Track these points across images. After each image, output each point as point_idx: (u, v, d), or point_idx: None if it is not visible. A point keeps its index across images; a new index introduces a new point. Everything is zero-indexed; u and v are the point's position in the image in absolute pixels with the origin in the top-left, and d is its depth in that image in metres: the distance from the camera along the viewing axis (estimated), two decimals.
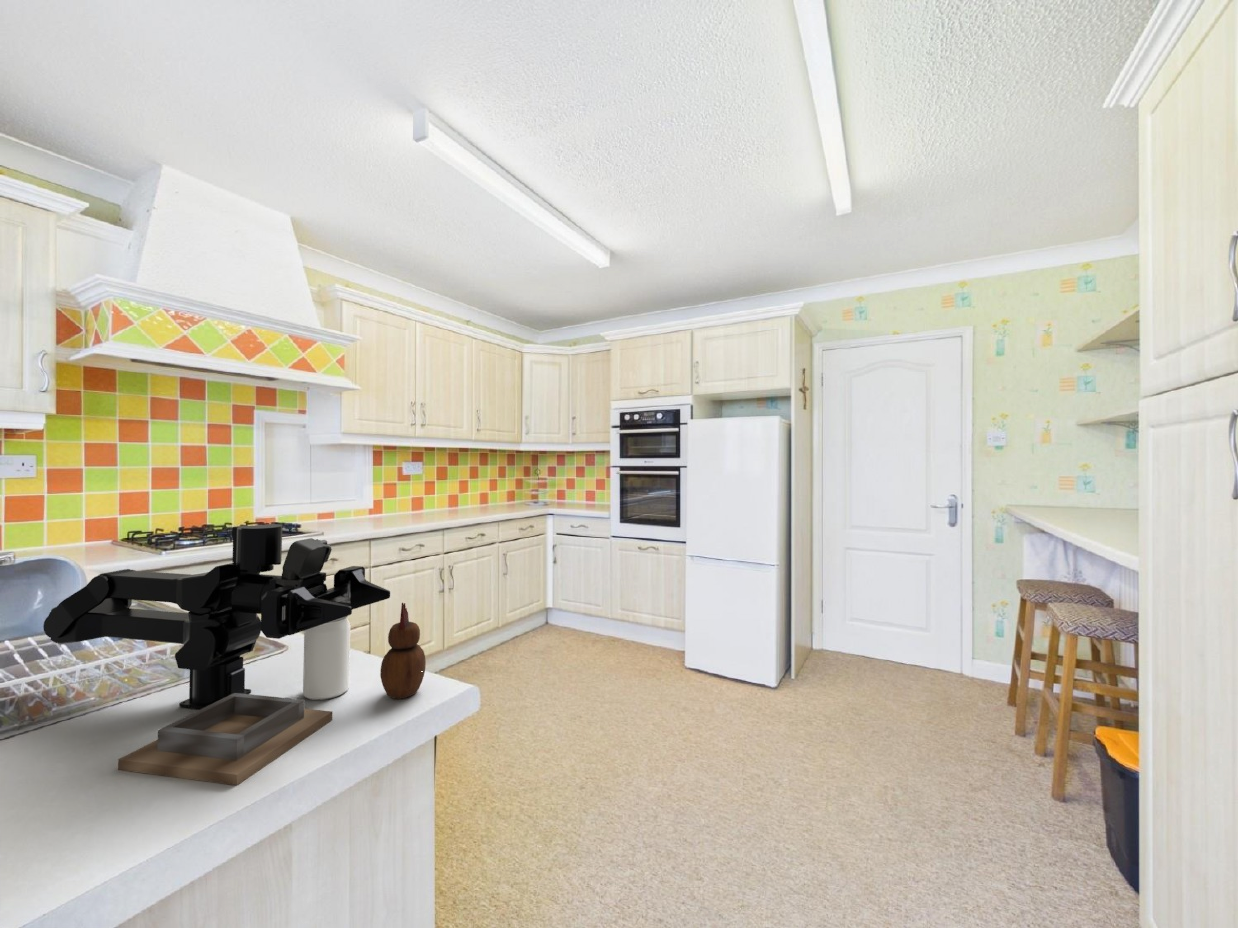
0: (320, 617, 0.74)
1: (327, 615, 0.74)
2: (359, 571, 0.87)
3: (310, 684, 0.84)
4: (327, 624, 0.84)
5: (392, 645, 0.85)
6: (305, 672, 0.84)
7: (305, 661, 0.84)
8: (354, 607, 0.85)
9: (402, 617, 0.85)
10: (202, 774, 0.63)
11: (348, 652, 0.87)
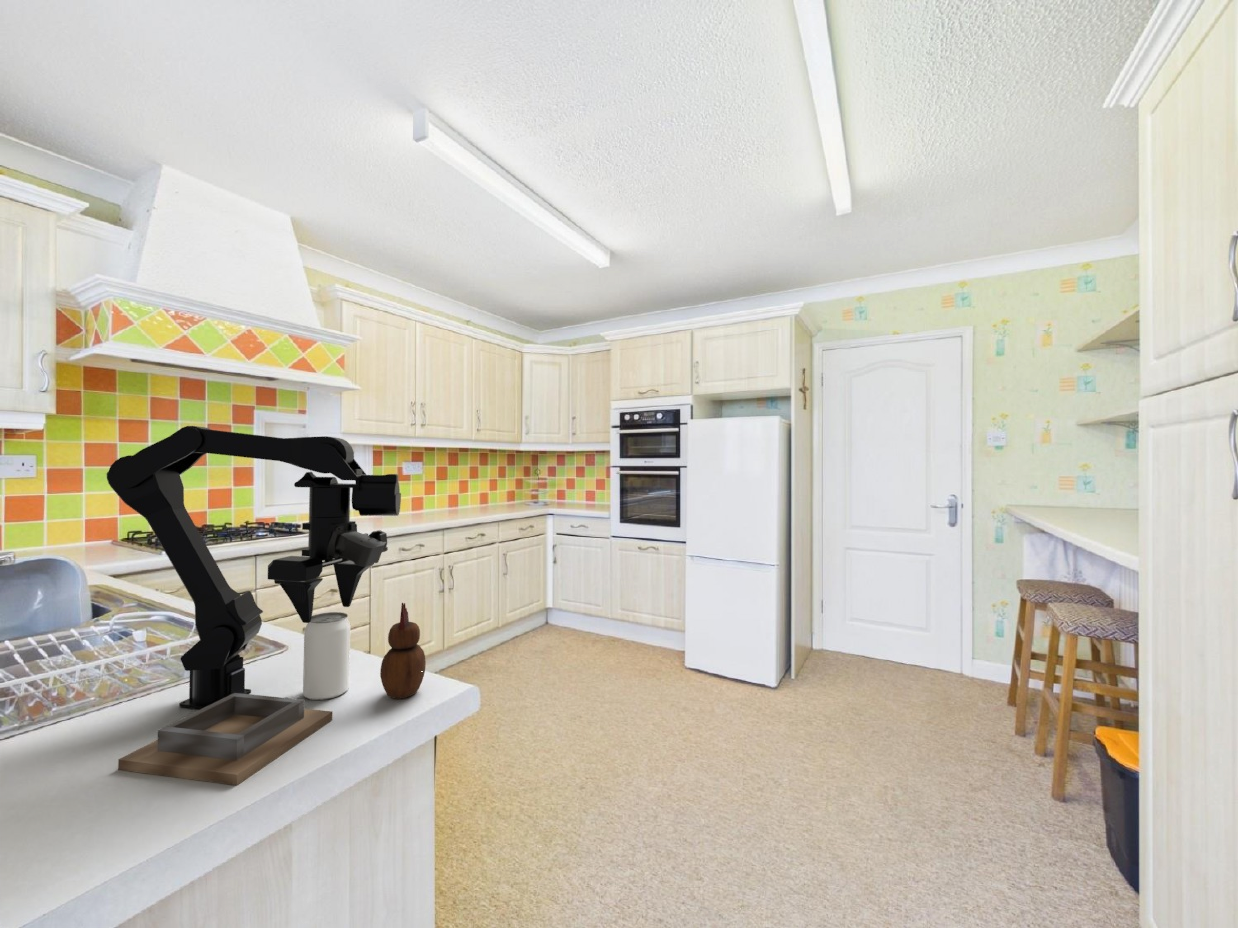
0: (296, 599, 0.81)
1: (298, 605, 0.81)
2: (369, 566, 0.93)
3: (310, 684, 0.84)
4: (327, 624, 0.84)
5: (392, 645, 0.85)
6: (305, 672, 0.84)
7: (305, 661, 0.84)
8: (335, 568, 0.92)
9: (402, 617, 0.85)
10: (202, 774, 0.63)
11: (348, 652, 0.87)
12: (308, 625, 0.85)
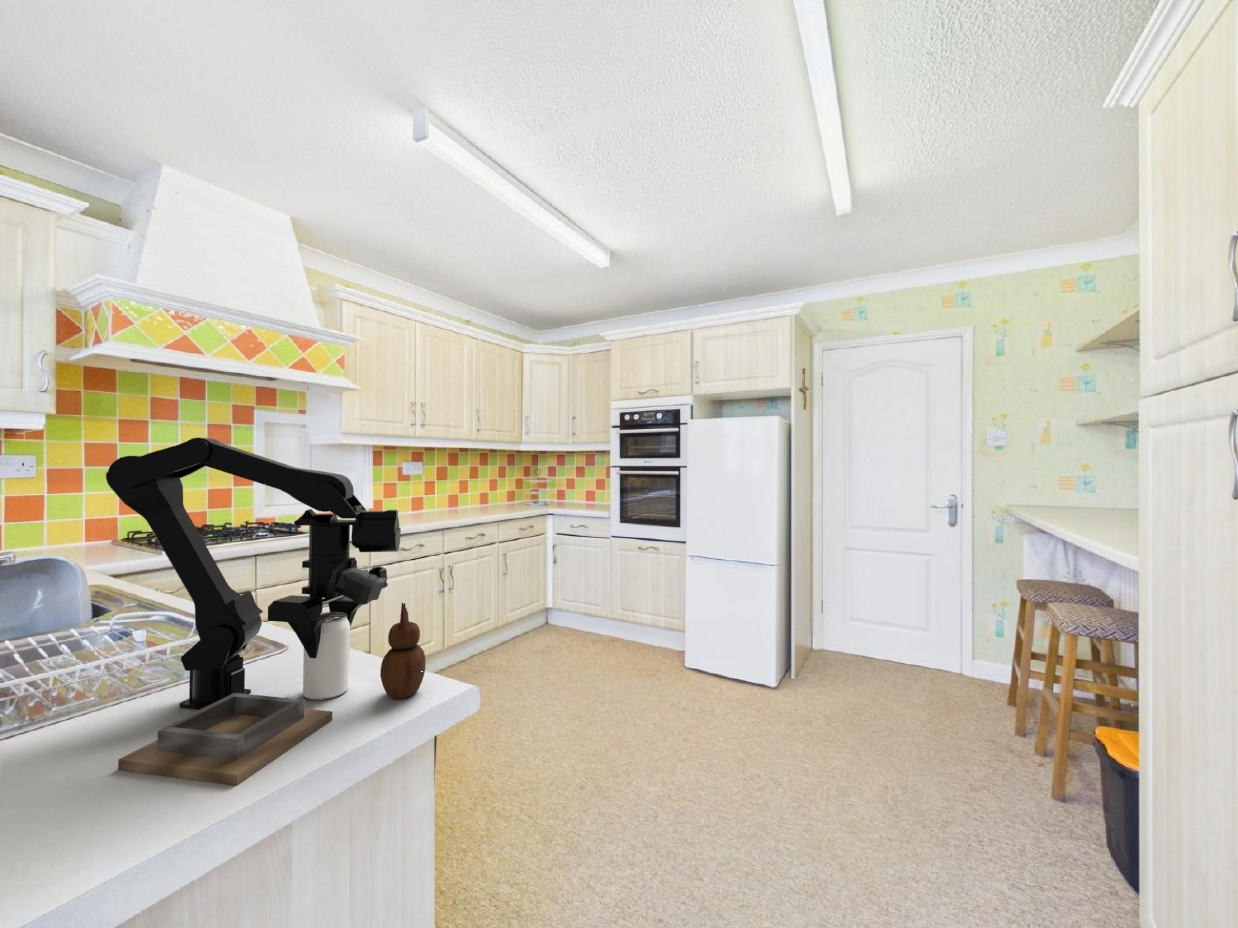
0: (303, 636, 0.83)
1: (305, 641, 0.83)
2: None
3: (310, 684, 0.84)
4: (327, 624, 0.84)
5: (392, 645, 0.85)
6: (305, 672, 0.84)
7: (305, 661, 0.84)
8: (329, 605, 0.91)
9: (402, 617, 0.85)
10: (202, 774, 0.63)
11: (348, 652, 0.87)
12: None
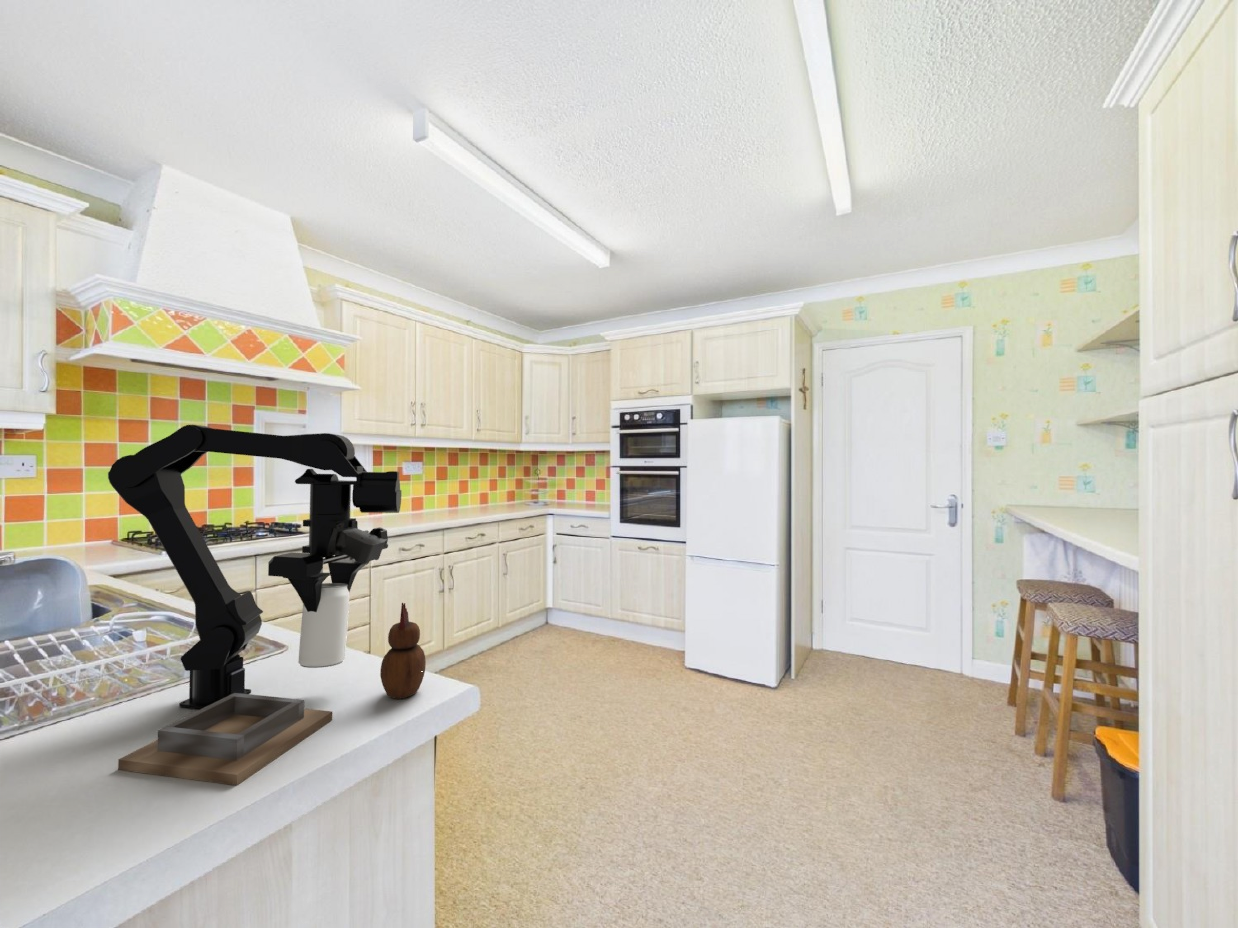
0: (303, 594, 0.83)
1: (306, 599, 0.83)
2: (364, 564, 0.91)
3: (305, 651, 0.83)
4: (326, 589, 0.84)
5: (392, 645, 0.85)
6: (302, 638, 0.83)
7: (302, 627, 0.84)
8: (329, 567, 0.91)
9: (402, 617, 0.85)
10: (202, 774, 0.63)
11: (346, 622, 0.86)
12: None
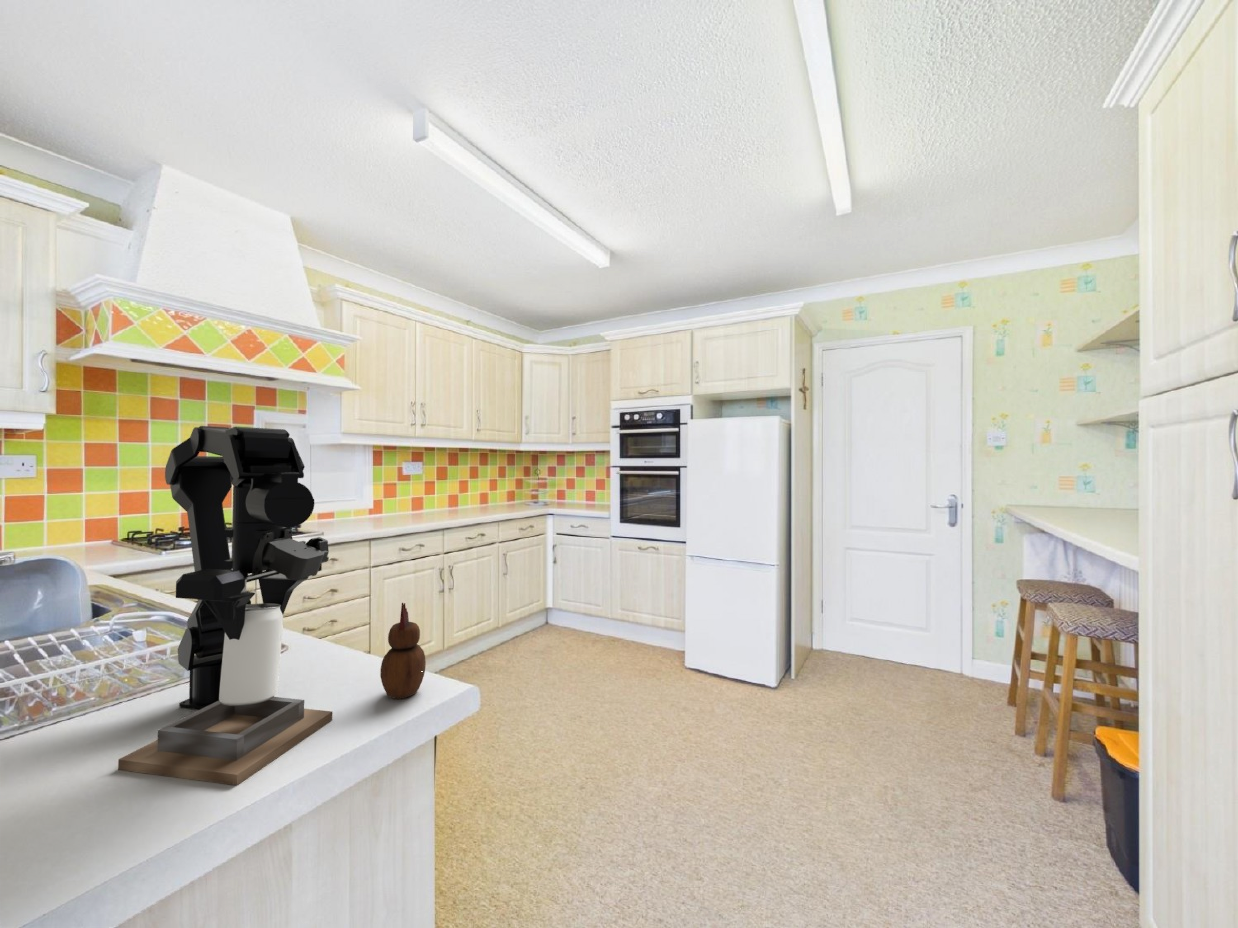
0: (223, 617, 0.69)
1: (226, 624, 0.70)
2: (302, 580, 0.78)
3: (227, 686, 0.70)
4: (253, 612, 0.71)
5: (392, 645, 0.85)
6: (222, 671, 0.70)
7: (223, 658, 0.71)
8: (260, 584, 0.78)
9: (402, 617, 0.85)
10: (202, 774, 0.63)
11: (278, 649, 0.73)
12: None
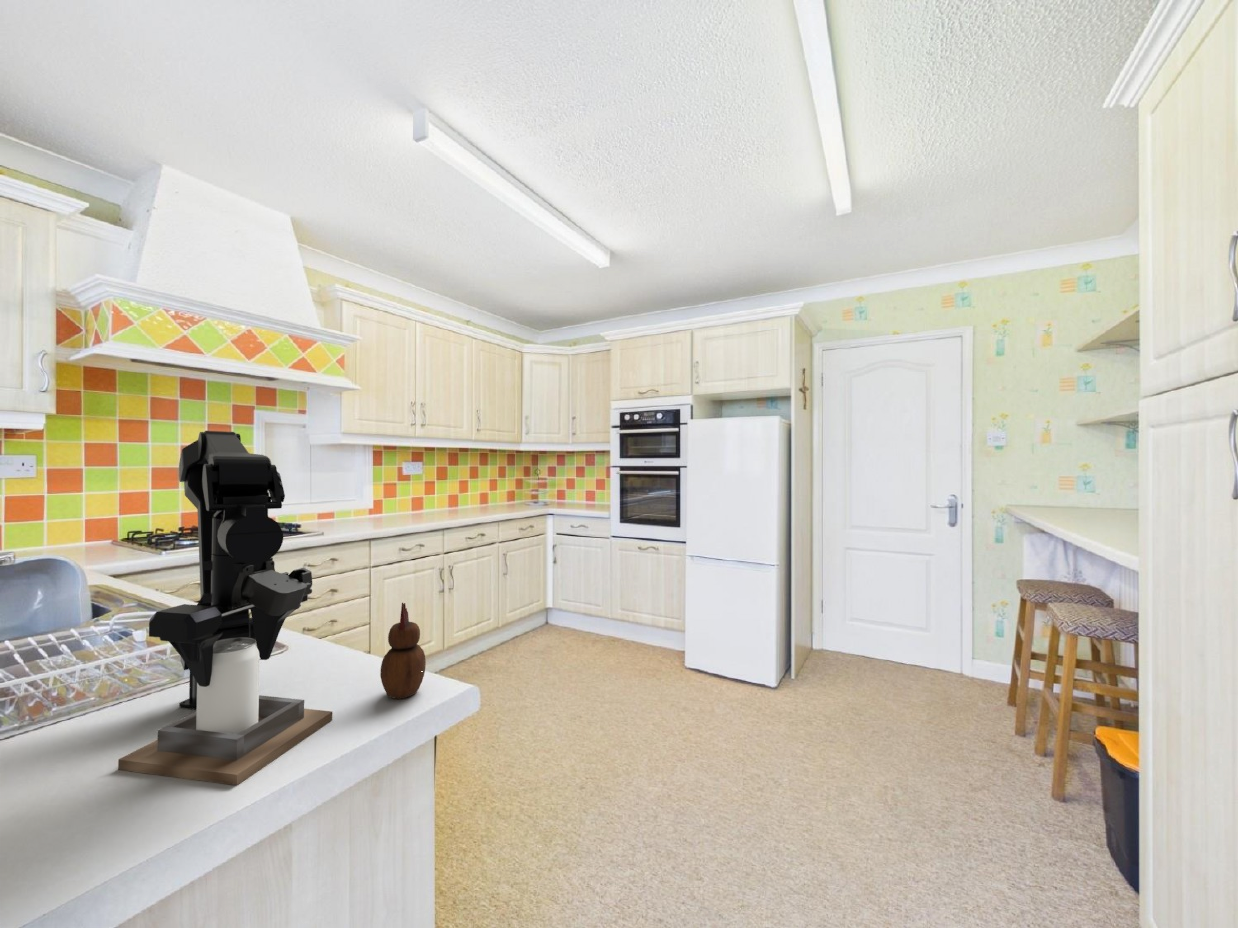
0: (189, 659, 0.65)
1: (193, 665, 0.66)
2: (294, 609, 0.77)
3: (202, 730, 0.67)
4: (224, 654, 0.67)
5: (392, 645, 0.85)
6: (197, 714, 0.67)
7: (197, 700, 0.67)
8: (252, 613, 0.76)
9: (402, 617, 0.85)
10: (202, 774, 0.63)
11: (255, 688, 0.70)
12: None
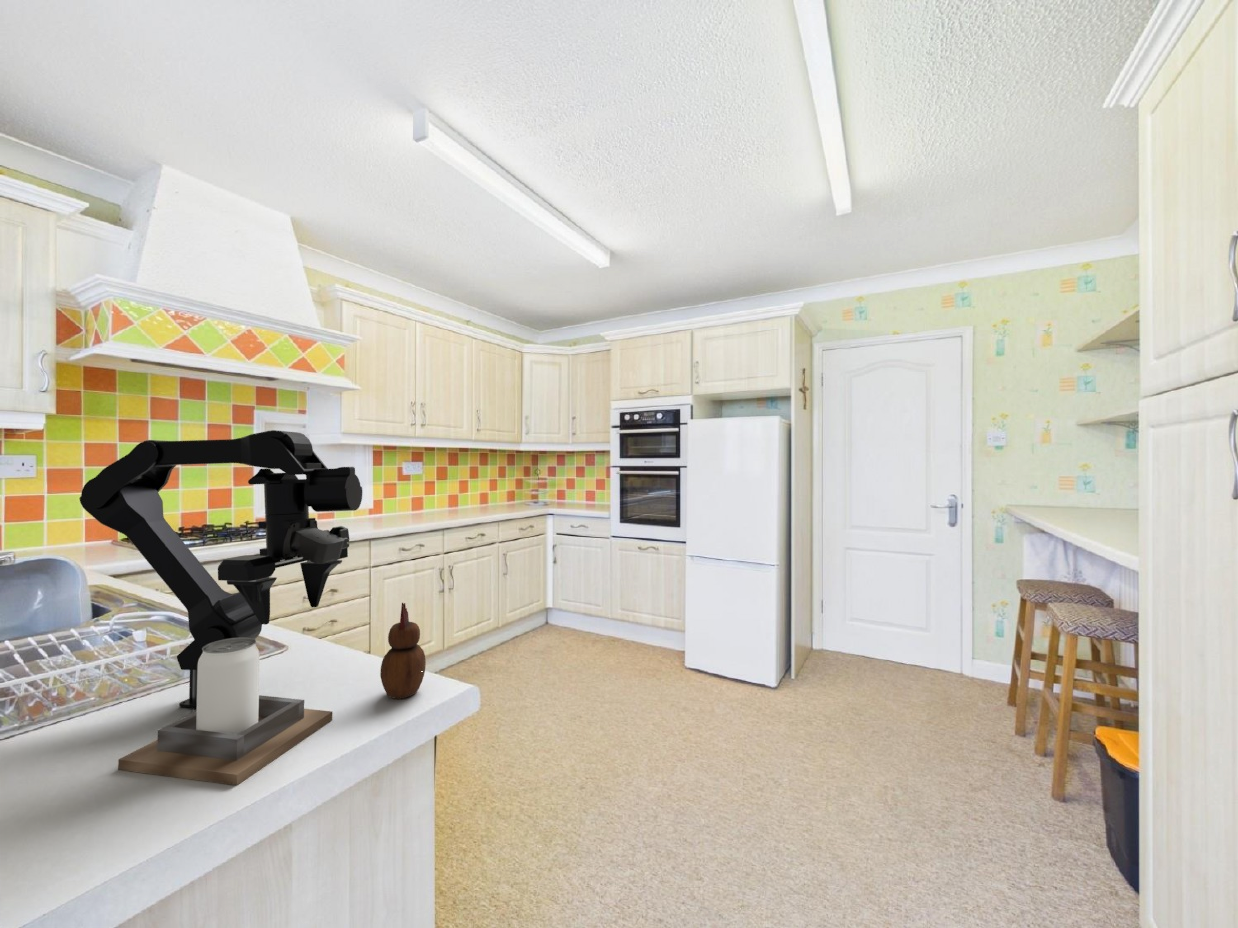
0: (251, 600, 0.78)
1: (254, 606, 0.78)
2: (336, 564, 0.89)
3: (202, 730, 0.67)
4: (224, 654, 0.67)
5: (392, 645, 0.85)
6: (197, 714, 0.67)
7: (197, 700, 0.67)
8: (302, 568, 0.89)
9: (402, 617, 0.85)
10: (202, 774, 0.63)
11: (255, 688, 0.70)
12: (202, 655, 0.68)
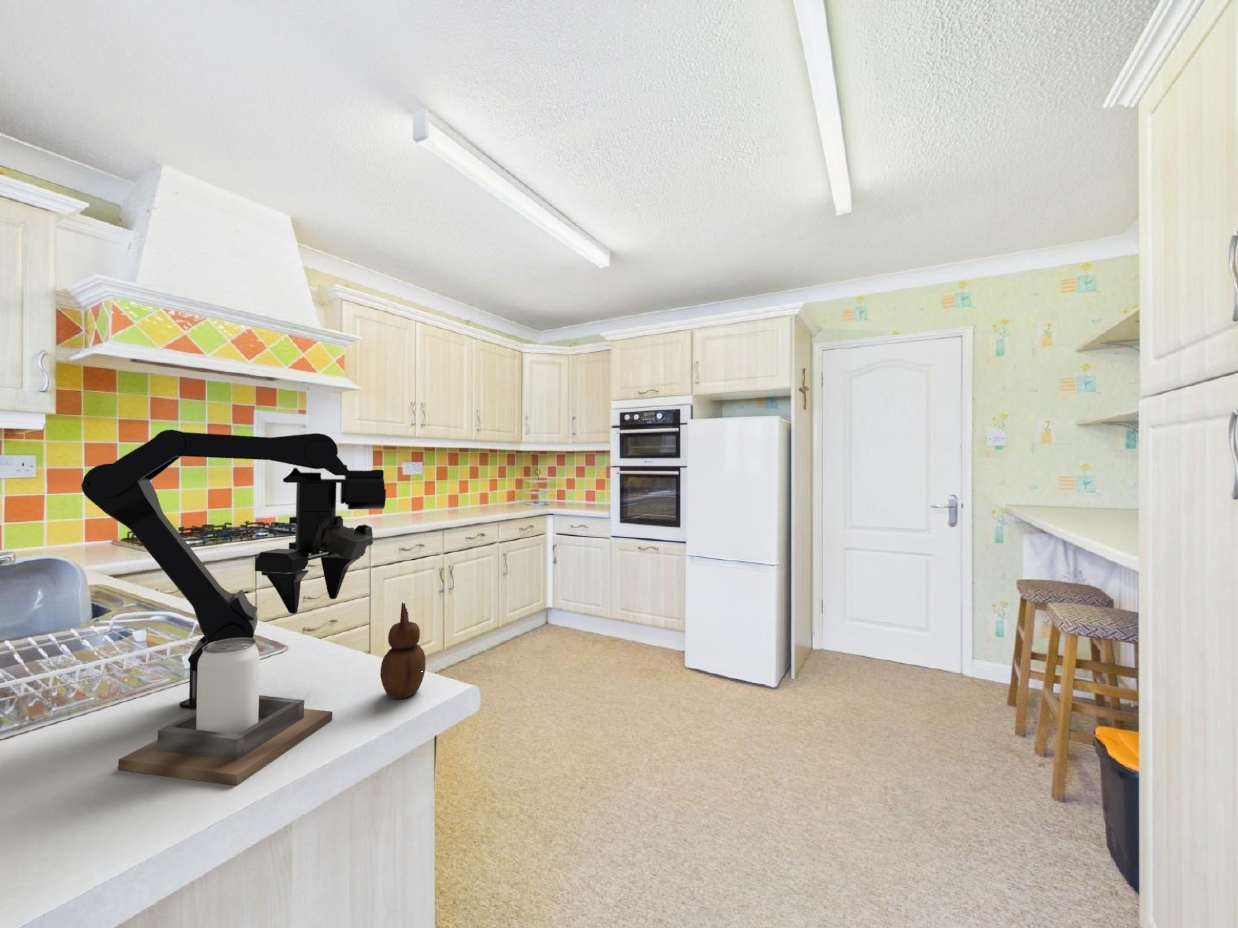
0: (282, 591, 0.84)
1: (285, 596, 0.84)
2: (356, 559, 0.95)
3: (202, 730, 0.67)
4: (224, 654, 0.67)
5: (392, 645, 0.85)
6: (197, 714, 0.67)
7: (197, 700, 0.67)
8: (322, 561, 0.95)
9: (402, 617, 0.85)
10: (202, 774, 0.63)
11: (255, 688, 0.70)
12: (202, 655, 0.68)
